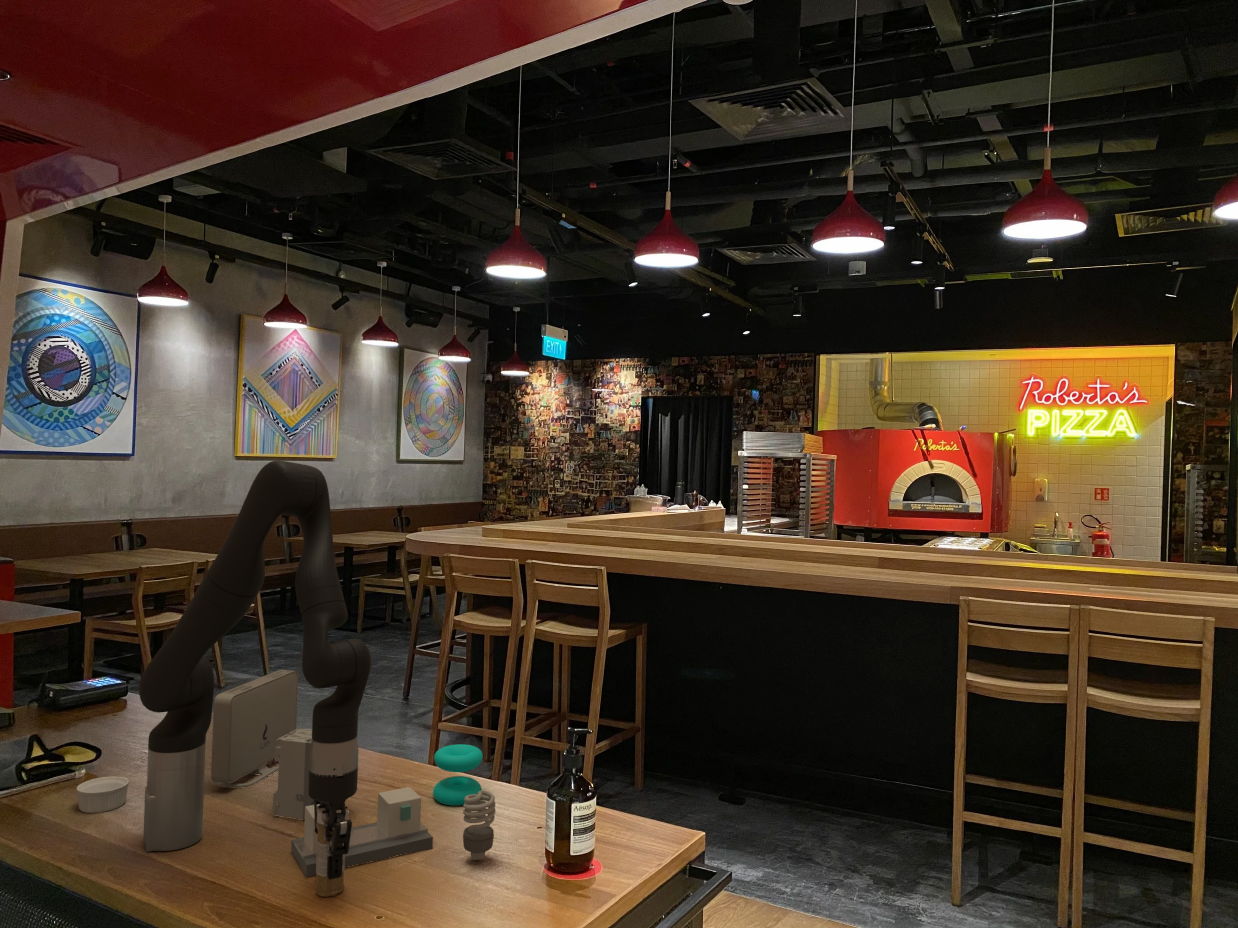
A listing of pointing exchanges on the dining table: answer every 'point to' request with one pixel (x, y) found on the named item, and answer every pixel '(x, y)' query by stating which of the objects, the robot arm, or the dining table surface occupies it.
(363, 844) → the din rail
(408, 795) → the mounted modules
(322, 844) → the sprinkles bottle
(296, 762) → the circuit breaker
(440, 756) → the donuts
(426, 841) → the mounting board
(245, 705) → the network device
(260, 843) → the dining table surface
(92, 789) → the ramekin
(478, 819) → the light bulb
